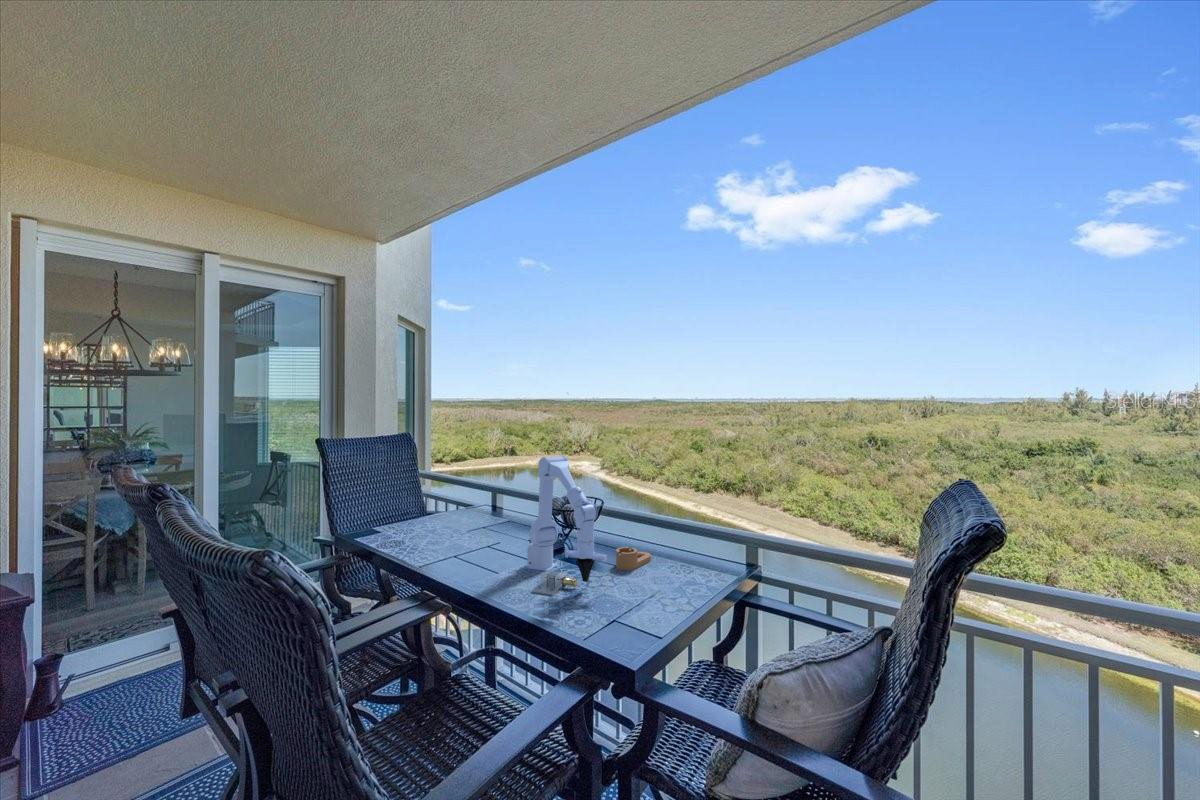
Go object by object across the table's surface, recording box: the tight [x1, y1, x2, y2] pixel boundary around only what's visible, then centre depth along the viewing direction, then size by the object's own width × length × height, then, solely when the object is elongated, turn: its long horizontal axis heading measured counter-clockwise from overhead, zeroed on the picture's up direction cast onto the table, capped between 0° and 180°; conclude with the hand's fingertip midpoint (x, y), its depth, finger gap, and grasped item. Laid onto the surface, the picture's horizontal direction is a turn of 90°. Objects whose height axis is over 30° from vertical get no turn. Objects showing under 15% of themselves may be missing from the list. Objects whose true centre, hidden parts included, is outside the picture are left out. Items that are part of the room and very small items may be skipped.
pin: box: [562, 578, 578, 588], centre depth 164 cm, size 9×2×2 cm, turn 69°
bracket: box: [615, 546, 652, 571], centre depth 187 cm, size 18×8×7 cm, turn 142°
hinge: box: [531, 570, 575, 597], centre depth 165 cm, size 8×16×4 cm, turn 159°
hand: (585, 580), depth 161 cm, fingers closed
